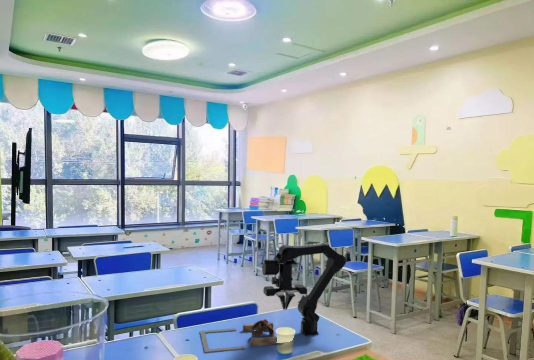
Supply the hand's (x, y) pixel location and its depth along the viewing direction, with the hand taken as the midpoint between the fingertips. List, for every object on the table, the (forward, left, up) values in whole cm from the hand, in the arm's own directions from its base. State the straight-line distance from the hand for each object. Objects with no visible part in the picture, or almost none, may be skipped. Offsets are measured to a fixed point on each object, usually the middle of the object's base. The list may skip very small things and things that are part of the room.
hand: (284, 309), depth 165 cm
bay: (+27, 0, -11) cm, 29 cm away
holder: (+10, 0, -11) cm, 15 cm away
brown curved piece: (+9, 0, -11) cm, 15 cm away
